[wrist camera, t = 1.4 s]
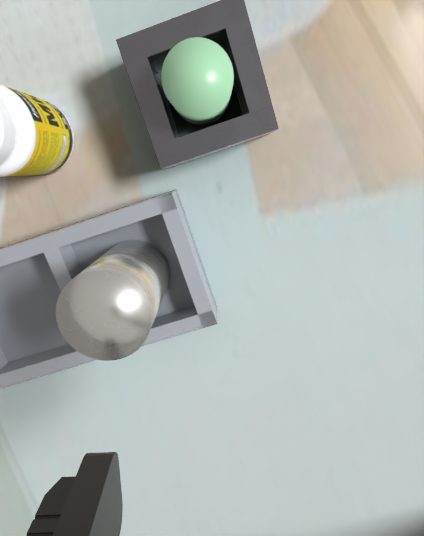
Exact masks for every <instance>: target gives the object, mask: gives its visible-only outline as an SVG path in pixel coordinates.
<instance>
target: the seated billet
mask: <svg viewBox="0 0 424 536" xmlns="http://www.w3.org/2000/svg"><path fill="white" fill-rule="evenodd" d="M169 281H170V269H169V265H168V262H167V260H166V258H165V256H164V255H163V254H162V252H161V251H160V250H159V249H158V248H156V247H155V246H154V245H152V244H150V243H148V242H145V241H142V240H126V241H122V242H120V243H118V244H116V245H115V246H113V247H112V248H111V249H109V250H108V251H107V252H106V253H104V254H103V255H102V256H101V257H99V258H98V259H97V260H96V261H94V262H93V263H92V264H91V265H89V266H88V267H87V268H86V269H85V270H83V271H82V272H81V273H80V274H78V275H77V276H76V277H75V278H73V279H72V280H71V281H70V282H69V283H68V284H67V285H66V286H65V287H64V288H63V290H62V291H61V293H60V295H59V297H58V300H57V304H56V321H57V325H58V328H59V330H60V332H61V334H62V336H63V337H64V339H65V340H66V341H67V342H68V344H69V345H70V346H71V347H73V348H74V349H75V350H76V351H78V352H79V353H81V354H83V355H85V356H87V357H90V358H93V359H97V360H117V359H121V358H124V357H127V356H129V355H131V354H132V353H134V352H135V351H137V350H138V349H139V348H140V347H141V346H142V344H143V343H144V342H145V340H146V339H147V337H148V334H149V332H150V330H151V327H152V325H153V322H154V320H155V317H156V315H157V312H158V310H159V307H160V305H161V302H162V300H163V297H164V295H165V292H166V289H167V287H168V284H169Z"/></svg>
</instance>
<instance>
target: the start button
mask: <svg viewBox="0 0 424 536" xmlns="http://www.w3.org/2000/svg"><path fill="white" fill-rule="evenodd" d="M161 81H162V87H163V90H164V93H165V95H166V97H167V99H168V100H169V102H170V103H171V104H172V106H173V107H174V108H175V109H176V111H177V112H178V113H179V115H180V116H181V117H182V118H184V119H185V120H187V121H188V122H190V123H193V124H198V125H204V124H209V123H212V122H214V121H216V120H217V119H219V118H220V117H221V116H222V115H223V114H224V112H225V111H226V109H227V107H228V105H229V102H230V97H231V92H232V88H233V81H234V73H233V67H232V63H231V61H230V59H229V57H228V55H227V53H226V52H225V51H224V50H223V48H222V47H221V46H219V45H218V44H217V43H215V42H214V41H212V40H209V39H206V38H201V37H194V38H188V39H185V40H183V41H181V42H179V43H178V44H176V45H175V46H174V47H173V48H172V49H171V50H170V52H169V53H168V54H167V56H166V58H165V60H164V63H163V67H162V73H161Z"/></svg>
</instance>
